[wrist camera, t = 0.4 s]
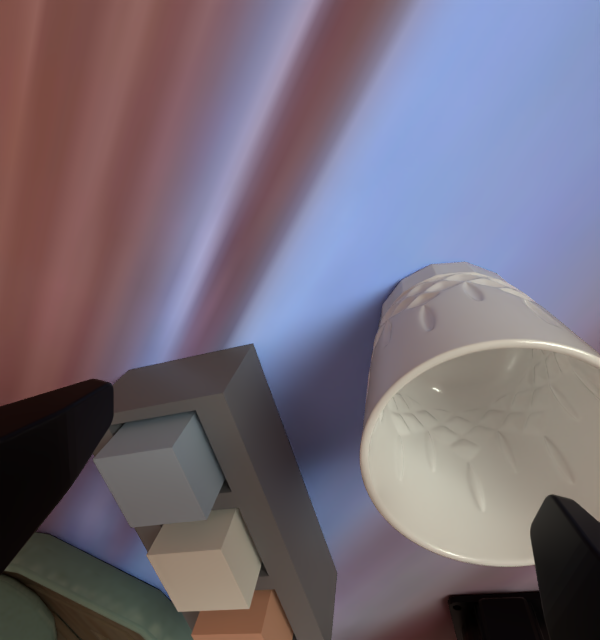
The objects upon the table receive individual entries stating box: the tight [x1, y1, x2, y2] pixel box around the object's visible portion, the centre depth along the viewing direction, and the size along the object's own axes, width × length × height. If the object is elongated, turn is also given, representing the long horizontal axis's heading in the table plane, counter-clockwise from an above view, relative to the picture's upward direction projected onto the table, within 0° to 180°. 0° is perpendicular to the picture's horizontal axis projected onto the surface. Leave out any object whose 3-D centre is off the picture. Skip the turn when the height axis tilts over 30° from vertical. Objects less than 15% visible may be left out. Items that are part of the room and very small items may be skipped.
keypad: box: [93, 344, 337, 640], centre depth 25 cm, size 18×8×5 cm, turn 17°
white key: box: [146, 508, 262, 612], centre depth 22 cm, size 4×4×3 cm
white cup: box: [360, 262, 600, 567], centre depth 17 cm, size 8×8×10 cm
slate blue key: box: [93, 410, 225, 528], centre depth 20 cm, size 4×4×3 cm
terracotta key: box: [191, 589, 294, 640], centre depth 24 cm, size 4×4×3 cm
